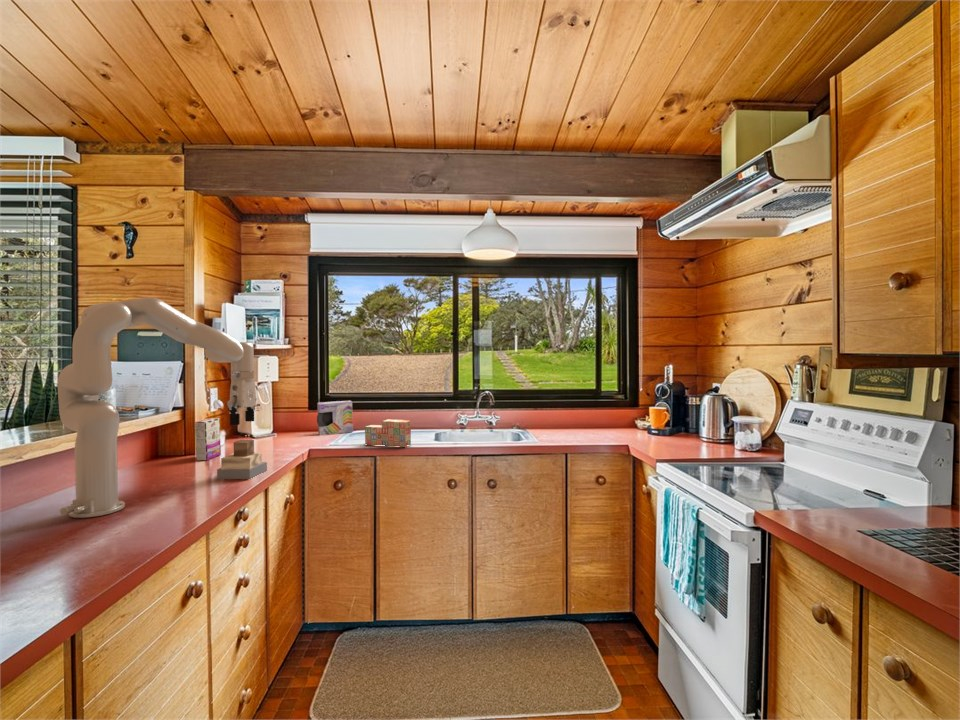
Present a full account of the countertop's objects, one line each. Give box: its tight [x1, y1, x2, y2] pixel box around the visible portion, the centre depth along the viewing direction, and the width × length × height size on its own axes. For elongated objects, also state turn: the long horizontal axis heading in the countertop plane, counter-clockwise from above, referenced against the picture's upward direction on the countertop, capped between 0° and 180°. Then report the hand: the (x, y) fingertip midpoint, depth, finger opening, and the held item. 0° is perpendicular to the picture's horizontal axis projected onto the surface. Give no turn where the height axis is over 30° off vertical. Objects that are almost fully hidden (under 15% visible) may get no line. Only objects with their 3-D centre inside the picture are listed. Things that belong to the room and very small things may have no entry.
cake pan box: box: [316, 400, 354, 436], centre depth 269 cm, size 19×5×18 cm, turn 119°
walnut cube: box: [233, 439, 255, 456], centre depth 179 cm, size 5×5×5 cm
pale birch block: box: [220, 451, 263, 470], centre depth 179 cm, size 10×10×4 cm
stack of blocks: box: [364, 418, 412, 448], centre depth 233 cm, size 21×6×12 cm, turn 73°
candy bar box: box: [194, 417, 222, 461], centre depth 209 cm, size 11×5×16 cm, turn 0°
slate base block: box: [216, 461, 268, 480], centre depth 179 cm, size 12×12×4 cm
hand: (242, 423), depth 178 cm, fingers open, 9 cm apart
